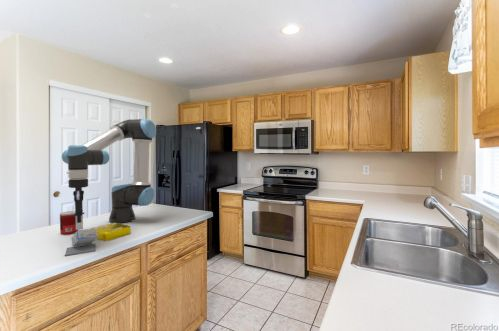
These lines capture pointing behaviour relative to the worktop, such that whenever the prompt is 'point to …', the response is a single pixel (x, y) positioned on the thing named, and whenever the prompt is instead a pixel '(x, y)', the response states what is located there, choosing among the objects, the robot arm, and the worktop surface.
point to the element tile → (112, 231)
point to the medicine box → (84, 237)
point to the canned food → (68, 222)
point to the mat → (80, 249)
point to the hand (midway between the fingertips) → (79, 228)
